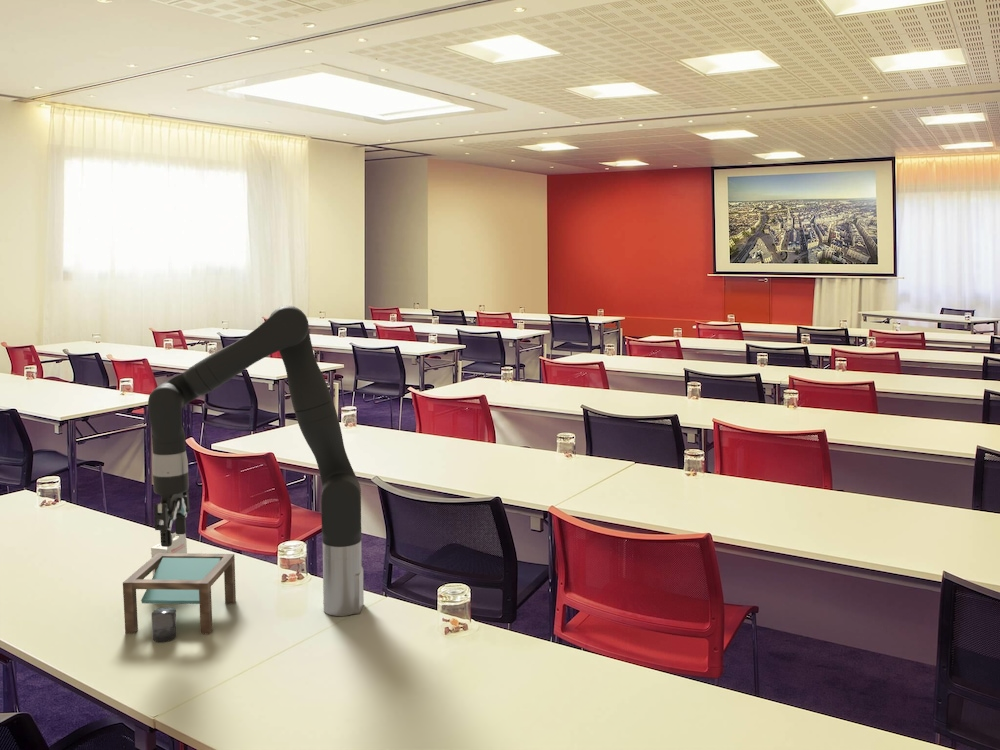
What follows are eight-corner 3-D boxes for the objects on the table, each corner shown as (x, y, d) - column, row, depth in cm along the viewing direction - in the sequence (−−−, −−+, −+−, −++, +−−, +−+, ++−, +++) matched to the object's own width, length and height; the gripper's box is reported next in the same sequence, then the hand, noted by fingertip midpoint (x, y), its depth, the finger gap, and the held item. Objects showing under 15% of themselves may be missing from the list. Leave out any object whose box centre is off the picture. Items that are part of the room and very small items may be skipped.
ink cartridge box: (171, 579, 217) (169, 525, 215) (188, 581, 216) (186, 527, 214) (152, 591, 208) (149, 536, 207) (169, 593, 208) (167, 537, 206)
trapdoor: (221, 561, 200) (220, 558, 199) (203, 604, 188) (202, 600, 187) (163, 560, 200) (162, 557, 199) (142, 603, 188) (141, 600, 187)
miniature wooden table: (235, 600, 204) (234, 553, 202) (209, 634, 185) (207, 583, 183) (159, 599, 204) (157, 553, 202) (125, 633, 185) (122, 582, 183)
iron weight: (170, 616, 180) (171, 642, 181) (179, 607, 185) (180, 632, 186) (148, 616, 180) (148, 642, 181) (157, 607, 185) (157, 632, 186)
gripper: (174, 479, 179) (178, 550, 181) (198, 463, 193) (201, 529, 195) (140, 479, 179) (144, 550, 181) (166, 463, 193) (169, 529, 195)
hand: (174, 539), depth 188 cm, fingers open, 8 cm apart
